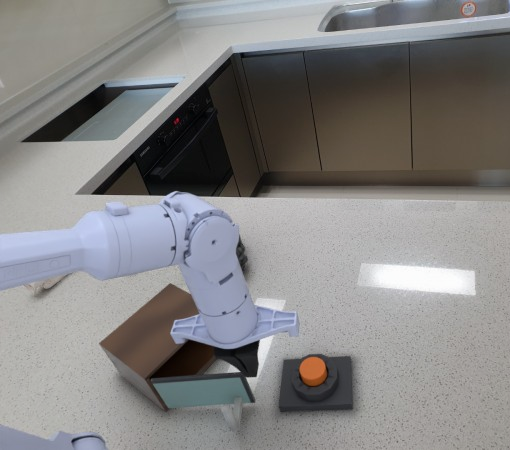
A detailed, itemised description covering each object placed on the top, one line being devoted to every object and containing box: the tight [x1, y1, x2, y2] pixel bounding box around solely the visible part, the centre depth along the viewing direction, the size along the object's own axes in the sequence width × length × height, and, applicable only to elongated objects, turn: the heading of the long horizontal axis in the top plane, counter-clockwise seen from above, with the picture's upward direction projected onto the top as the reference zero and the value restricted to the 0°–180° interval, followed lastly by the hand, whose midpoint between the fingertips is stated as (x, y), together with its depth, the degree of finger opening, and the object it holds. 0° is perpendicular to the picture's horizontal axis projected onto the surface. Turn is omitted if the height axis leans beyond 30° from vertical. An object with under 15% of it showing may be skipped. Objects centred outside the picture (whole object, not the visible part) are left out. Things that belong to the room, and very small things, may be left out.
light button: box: [300, 357, 327, 386], centre depth 64 cm, size 4×4×2 cm
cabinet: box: [98, 283, 217, 412], centre depth 71 cm, size 12×14×8 cm
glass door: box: [151, 371, 256, 433], centre depth 61 cm, size 5×13×7 cm, turn 88°
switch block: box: [278, 353, 354, 412], centre depth 65 cm, size 10×8×3 cm
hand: (252, 370), depth 57 cm, fingers closed
